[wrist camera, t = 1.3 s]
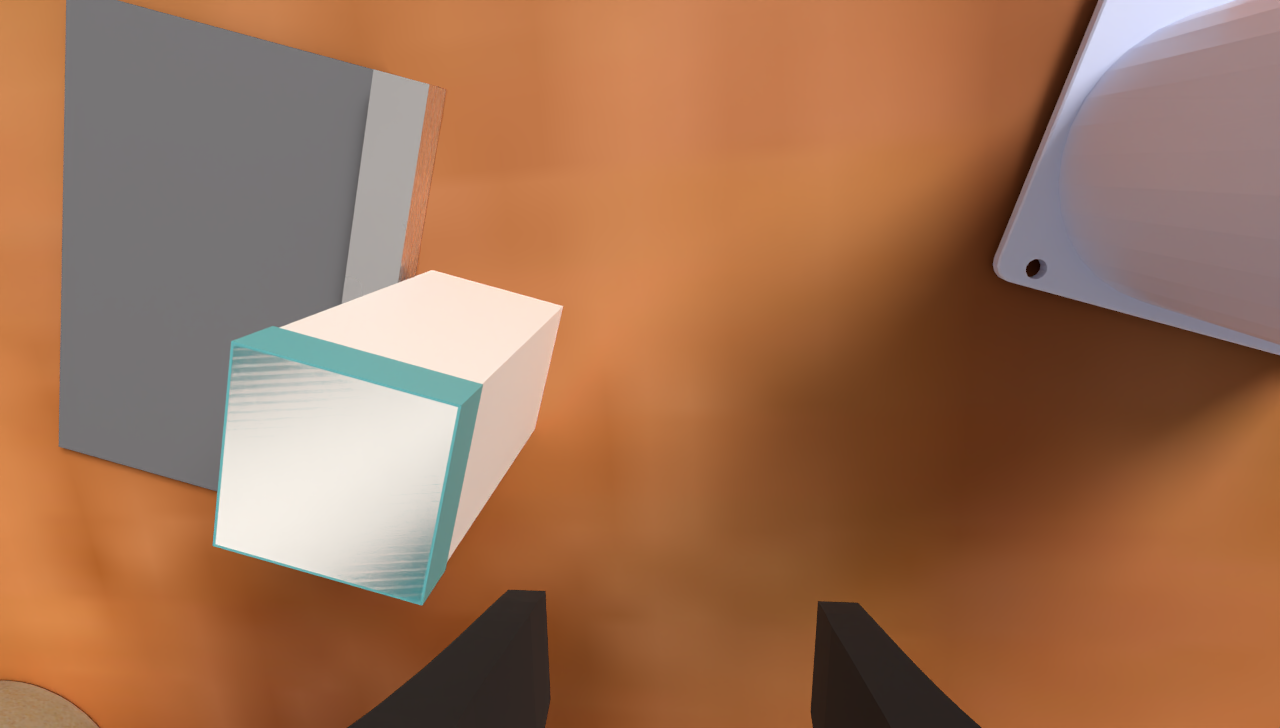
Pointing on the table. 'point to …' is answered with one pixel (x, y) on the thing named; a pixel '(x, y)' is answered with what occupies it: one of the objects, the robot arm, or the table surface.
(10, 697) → the plant pot
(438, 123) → the stop rail
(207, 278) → the mat
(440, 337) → the tall block
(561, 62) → the table surface
